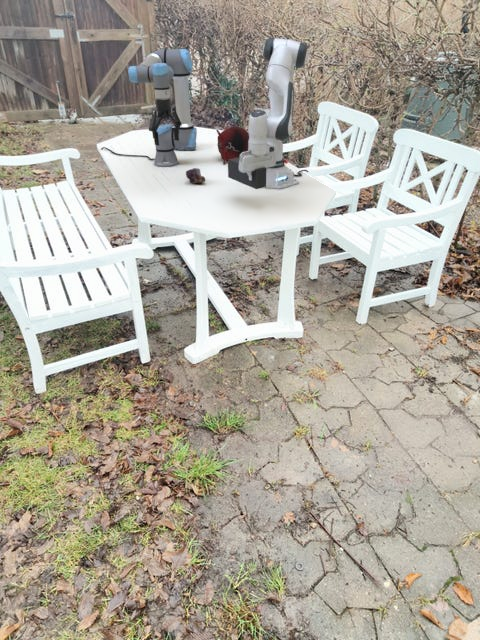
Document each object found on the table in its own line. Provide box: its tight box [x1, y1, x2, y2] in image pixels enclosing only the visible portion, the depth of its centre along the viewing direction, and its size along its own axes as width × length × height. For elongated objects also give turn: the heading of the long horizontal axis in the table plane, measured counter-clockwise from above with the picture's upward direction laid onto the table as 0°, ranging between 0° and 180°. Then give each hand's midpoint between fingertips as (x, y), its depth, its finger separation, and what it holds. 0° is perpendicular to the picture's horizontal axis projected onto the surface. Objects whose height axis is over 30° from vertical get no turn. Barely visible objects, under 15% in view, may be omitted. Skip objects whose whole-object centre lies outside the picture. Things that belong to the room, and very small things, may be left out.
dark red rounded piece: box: [216, 126, 249, 165], centre depth 296 cm, size 21×24×25 cm
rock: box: [185, 167, 206, 184], centre depth 259 cm, size 12×9×10 cm
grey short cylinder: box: [174, 142, 197, 151], centre depth 321 cm, size 17×18×20 cm
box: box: [227, 158, 267, 190], centre depth 223 cm, size 24×6×9 cm, turn 36°
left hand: (167, 142), depth 238 cm, fingers open, 13 cm apart
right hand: (257, 178), depth 218 cm, fingers closed on box, 6 cm apart
